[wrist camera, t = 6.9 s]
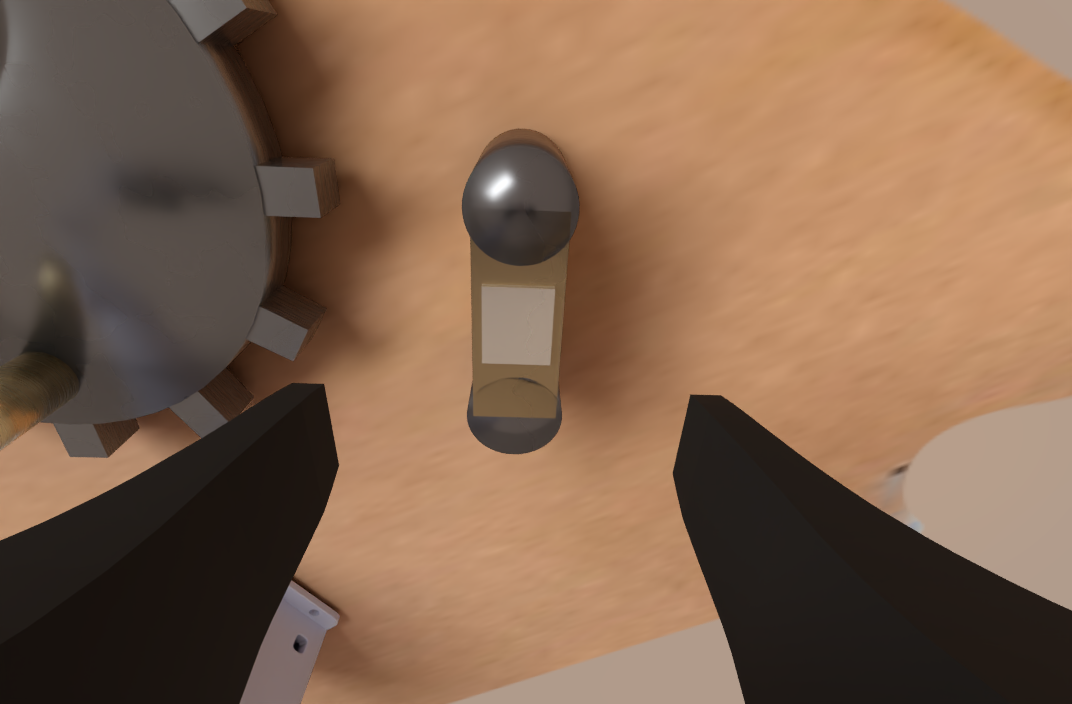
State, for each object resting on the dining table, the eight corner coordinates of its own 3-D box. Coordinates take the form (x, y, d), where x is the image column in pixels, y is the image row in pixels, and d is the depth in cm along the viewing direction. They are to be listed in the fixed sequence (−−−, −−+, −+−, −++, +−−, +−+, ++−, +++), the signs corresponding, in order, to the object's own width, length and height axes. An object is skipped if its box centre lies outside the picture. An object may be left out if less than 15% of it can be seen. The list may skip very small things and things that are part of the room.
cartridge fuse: (476, 126, 16) (459, 145, 12) (570, 131, 16) (585, 151, 12) (478, 380, 21) (467, 457, 17) (552, 382, 21) (558, 459, 17)
